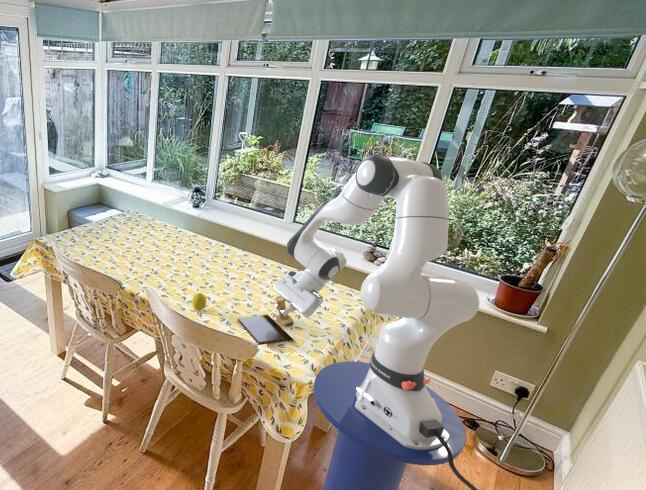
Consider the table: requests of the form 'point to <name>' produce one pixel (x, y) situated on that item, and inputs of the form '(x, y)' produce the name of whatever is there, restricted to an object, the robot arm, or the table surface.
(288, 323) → the brush
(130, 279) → the table surface
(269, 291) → the table surface
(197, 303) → the lemon
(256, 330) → the tablet
